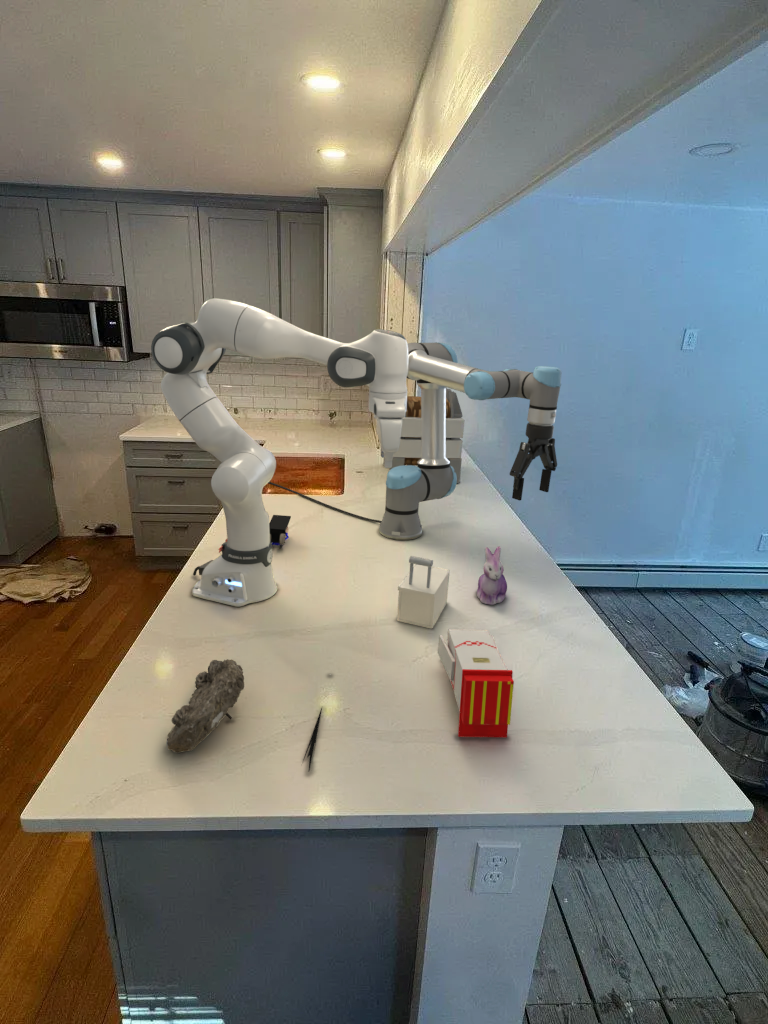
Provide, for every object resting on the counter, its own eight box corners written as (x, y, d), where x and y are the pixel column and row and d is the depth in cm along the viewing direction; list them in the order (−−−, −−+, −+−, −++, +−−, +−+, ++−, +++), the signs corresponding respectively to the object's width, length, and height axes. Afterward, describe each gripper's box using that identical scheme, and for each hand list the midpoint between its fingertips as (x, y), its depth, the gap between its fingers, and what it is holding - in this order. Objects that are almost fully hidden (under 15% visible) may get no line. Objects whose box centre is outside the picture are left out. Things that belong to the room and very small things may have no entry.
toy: (488, 613, 130) (523, 677, 101) (484, 667, 133) (517, 744, 104) (435, 612, 130) (455, 676, 101) (432, 666, 133) (451, 743, 103)
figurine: (489, 609, 152) (495, 558, 146) (466, 592, 160) (471, 543, 155) (516, 602, 156) (523, 552, 151) (493, 586, 164) (499, 538, 159)
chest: (432, 628, 141) (434, 596, 138) (397, 620, 144) (398, 589, 141) (446, 603, 154) (449, 573, 151) (414, 596, 157) (416, 566, 154)
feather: (331, 679, 122) (336, 673, 122) (307, 777, 96) (313, 769, 95) (324, 675, 122) (329, 669, 121) (298, 772, 95) (304, 764, 95)
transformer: (382, 463, 289) (386, 382, 275) (445, 464, 293) (451, 384, 279) (390, 482, 257) (394, 392, 243) (460, 483, 261) (468, 394, 247)
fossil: (192, 660, 117) (244, 628, 112) (224, 691, 120) (276, 661, 115) (142, 746, 98) (202, 712, 93) (182, 779, 101) (242, 748, 96)
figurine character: (285, 555, 182) (292, 533, 195) (285, 534, 178) (291, 513, 192) (264, 554, 181) (272, 532, 195) (263, 534, 178) (271, 512, 191)
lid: (434, 598, 138) (436, 566, 135) (397, 590, 141) (399, 558, 138) (449, 573, 151) (452, 543, 148) (416, 566, 154) (418, 537, 151)
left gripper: (371, 396, 140) (370, 451, 145) (377, 411, 121) (375, 473, 126) (396, 397, 141) (394, 451, 145) (406, 411, 121) (403, 473, 126)
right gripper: (525, 430, 149) (515, 506, 156) (576, 421, 165) (565, 491, 172) (502, 425, 154) (493, 499, 162) (553, 417, 170) (543, 484, 177)
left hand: (386, 462), depth 135 cm, fingers open, 8 cm apart
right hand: (530, 495), depth 167 cm, fingers open, 13 cm apart
